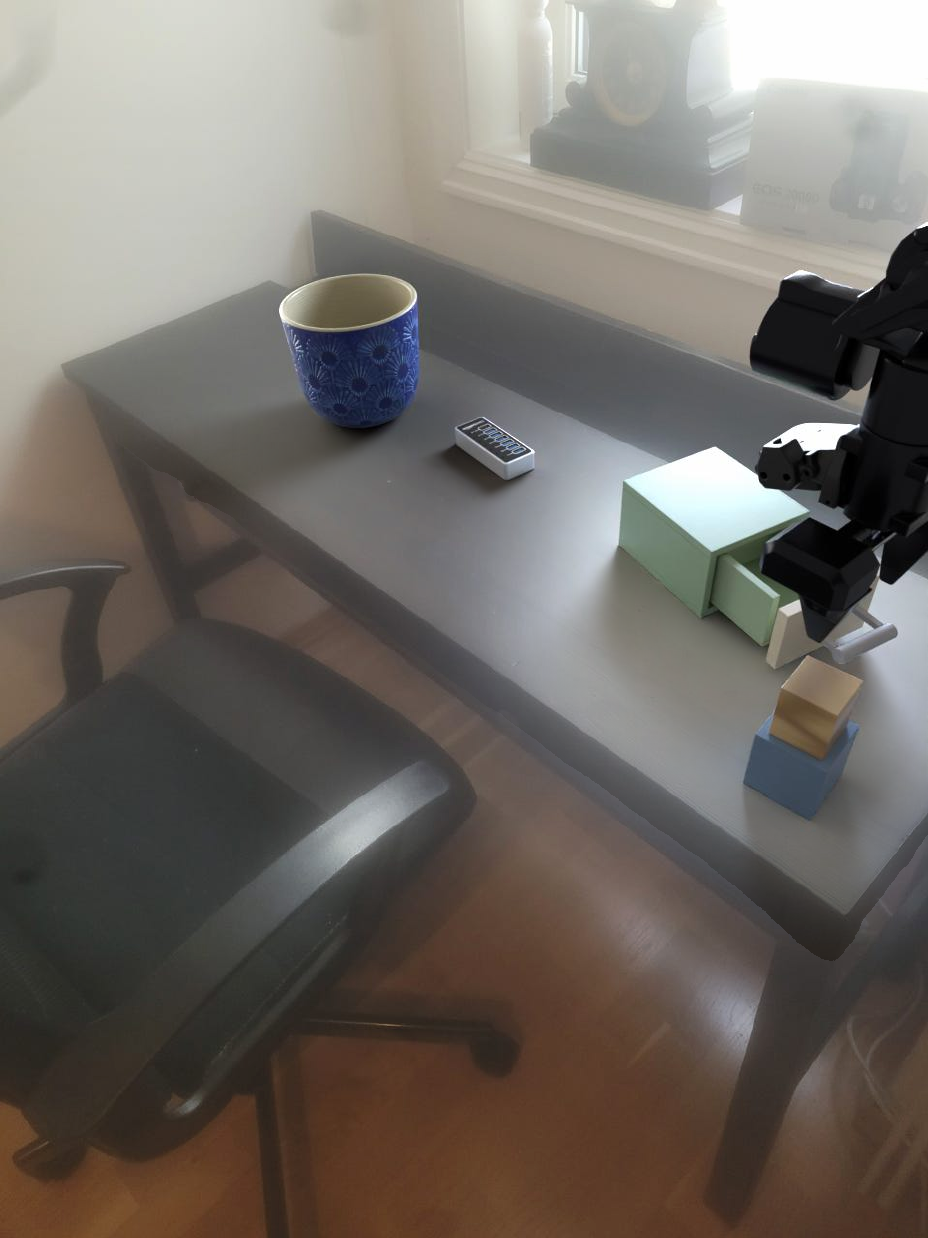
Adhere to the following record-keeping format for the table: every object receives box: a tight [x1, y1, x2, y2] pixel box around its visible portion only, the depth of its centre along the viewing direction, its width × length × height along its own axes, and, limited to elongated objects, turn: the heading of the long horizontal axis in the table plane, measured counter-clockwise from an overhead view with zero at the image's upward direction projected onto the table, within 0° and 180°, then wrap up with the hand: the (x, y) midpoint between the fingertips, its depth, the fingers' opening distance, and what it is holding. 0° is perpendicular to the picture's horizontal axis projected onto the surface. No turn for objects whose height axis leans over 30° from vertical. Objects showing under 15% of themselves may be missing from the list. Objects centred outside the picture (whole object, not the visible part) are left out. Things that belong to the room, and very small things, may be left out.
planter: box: [279, 273, 420, 429], centre depth 111 cm, size 17×17×15 cm
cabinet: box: [618, 446, 811, 619], centre depth 86 cm, size 14×12×8 cm
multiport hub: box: [454, 416, 535, 481], centre depth 105 cm, size 4×11×2 cm, turn 34°
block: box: [769, 655, 864, 761], centre depth 63 cm, size 4×4×5 cm
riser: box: [742, 709, 861, 821], centre depth 67 cm, size 6×6×6 cm
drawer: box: [709, 526, 899, 670], centre depth 78 cm, size 17×10×6 cm, turn 28°
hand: (851, 609), depth 64 cm, fingers open, 9 cm apart
